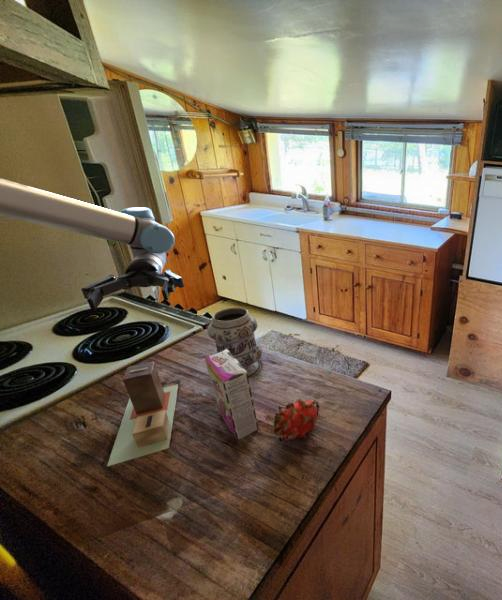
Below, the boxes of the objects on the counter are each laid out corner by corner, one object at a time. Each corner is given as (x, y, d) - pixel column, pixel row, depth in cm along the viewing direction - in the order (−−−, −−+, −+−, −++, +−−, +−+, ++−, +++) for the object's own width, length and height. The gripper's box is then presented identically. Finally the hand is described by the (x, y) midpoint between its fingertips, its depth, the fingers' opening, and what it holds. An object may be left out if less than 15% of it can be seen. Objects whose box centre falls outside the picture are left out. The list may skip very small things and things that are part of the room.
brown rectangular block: (136, 414, 74) (122, 379, 70) (140, 400, 78) (127, 366, 74) (162, 408, 76) (150, 373, 72) (165, 394, 80) (153, 361, 76)
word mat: (107, 468, 62) (106, 466, 62) (130, 396, 80) (130, 394, 80) (169, 449, 67) (168, 447, 66) (178, 385, 84) (178, 383, 84)
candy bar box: (218, 414, 76) (203, 356, 69) (239, 404, 79) (227, 347, 72) (236, 443, 69) (222, 381, 62) (259, 430, 72) (248, 370, 65)
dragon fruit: (272, 454, 68) (315, 425, 78) (294, 451, 64) (337, 421, 73) (257, 416, 69) (302, 392, 79) (278, 410, 64) (323, 386, 74)
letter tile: (138, 448, 66) (131, 433, 64) (142, 430, 70) (136, 416, 68) (167, 439, 68) (162, 425, 67) (169, 423, 72) (165, 409, 71)
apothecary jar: (254, 353, 98) (244, 299, 91) (272, 371, 91) (263, 315, 83) (211, 369, 91) (197, 312, 83) (227, 391, 83) (213, 330, 75)
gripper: (198, 277, 99) (195, 305, 82) (92, 289, 88) (63, 324, 71) (193, 253, 96) (188, 277, 79) (82, 262, 85) (49, 293, 68)
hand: (129, 299), depth 75 cm, fingers open, 13 cm apart
